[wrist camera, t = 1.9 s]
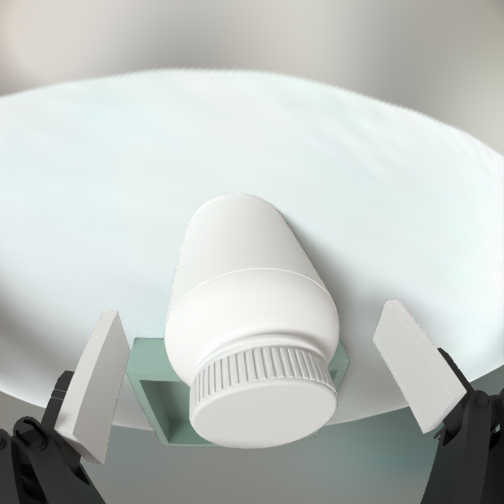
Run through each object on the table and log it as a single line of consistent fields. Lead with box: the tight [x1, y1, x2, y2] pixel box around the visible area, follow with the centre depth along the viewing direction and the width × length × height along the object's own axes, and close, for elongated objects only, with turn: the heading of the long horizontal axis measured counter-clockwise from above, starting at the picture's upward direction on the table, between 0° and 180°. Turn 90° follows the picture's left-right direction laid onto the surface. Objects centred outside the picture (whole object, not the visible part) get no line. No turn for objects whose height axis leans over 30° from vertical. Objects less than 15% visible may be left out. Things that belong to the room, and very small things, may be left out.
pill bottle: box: [164, 193, 340, 449], centre depth 15 cm, size 8×8×15 cm
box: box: [126, 338, 350, 447], centre depth 28 cm, size 20×16×4 cm
